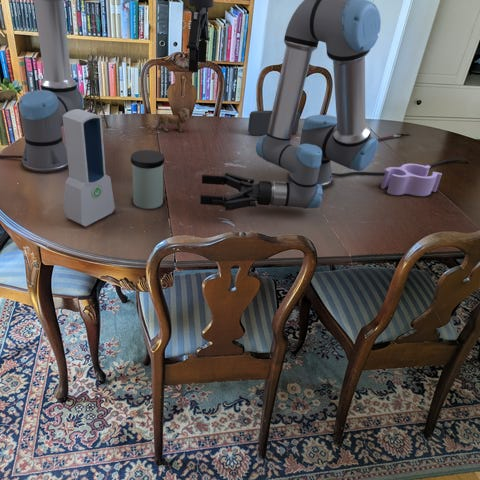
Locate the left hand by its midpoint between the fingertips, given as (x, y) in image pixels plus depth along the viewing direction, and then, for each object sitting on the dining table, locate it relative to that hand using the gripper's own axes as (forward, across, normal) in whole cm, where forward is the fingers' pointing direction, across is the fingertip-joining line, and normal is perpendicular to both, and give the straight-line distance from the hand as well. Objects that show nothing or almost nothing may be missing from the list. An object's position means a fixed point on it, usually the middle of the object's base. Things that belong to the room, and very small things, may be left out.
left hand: (197, 66), depth 148 cm
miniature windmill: (+36, +26, +46) cm, 64 cm away
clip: (+35, +8, -78) cm, 86 cm away
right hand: (+29, -26, -8) cm, 40 cm away
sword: (+35, +60, -79) cm, 105 cm away
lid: (+21, -28, +8) cm, 36 cm away
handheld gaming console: (+35, +47, -26) cm, 65 cm away
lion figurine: (+36, +36, +16) cm, 54 cm away
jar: (+36, -28, +8) cm, 46 cm away
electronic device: (+36, -40, +22) cm, 58 cm away
